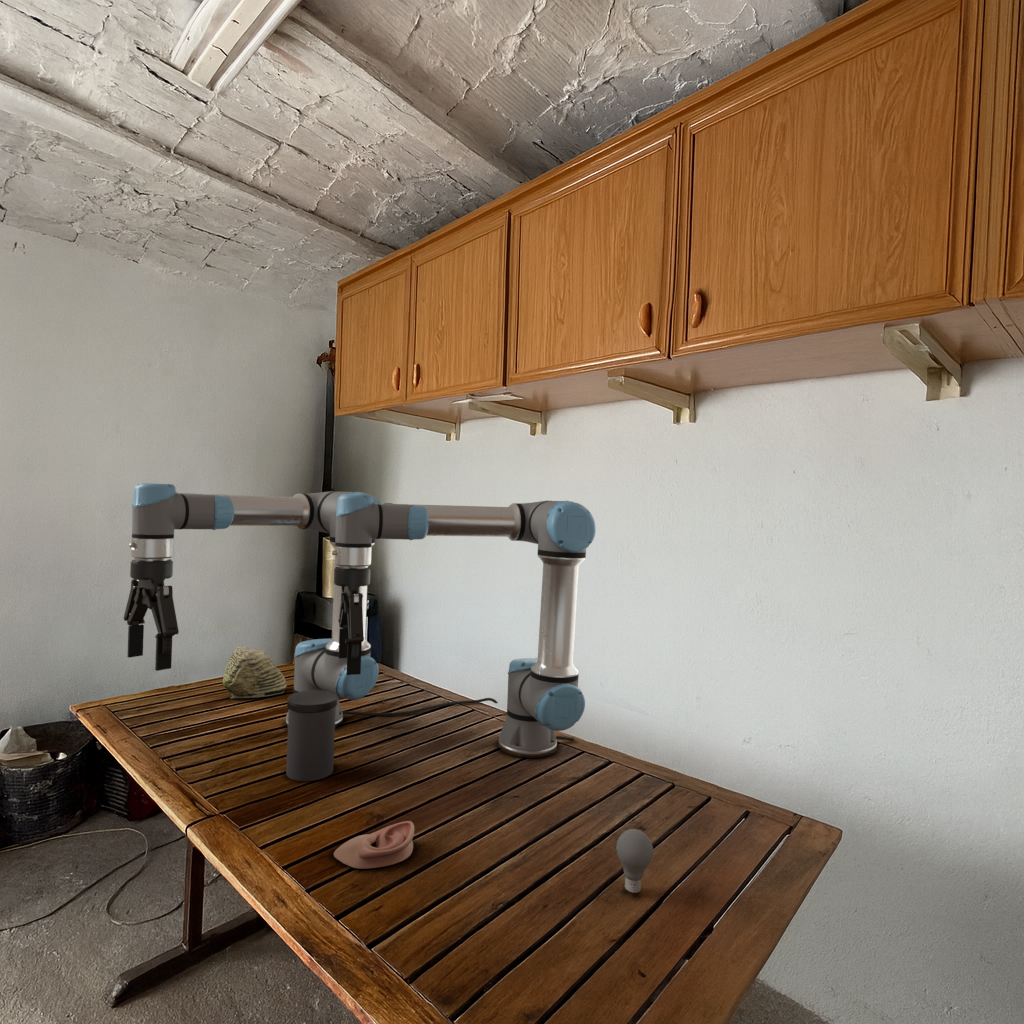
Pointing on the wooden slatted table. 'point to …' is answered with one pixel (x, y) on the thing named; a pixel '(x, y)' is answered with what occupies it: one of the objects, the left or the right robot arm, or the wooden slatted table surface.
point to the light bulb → (634, 857)
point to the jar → (310, 745)
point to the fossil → (252, 674)
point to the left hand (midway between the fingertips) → (148, 662)
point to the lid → (312, 701)
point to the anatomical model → (378, 847)
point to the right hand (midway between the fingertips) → (349, 665)
